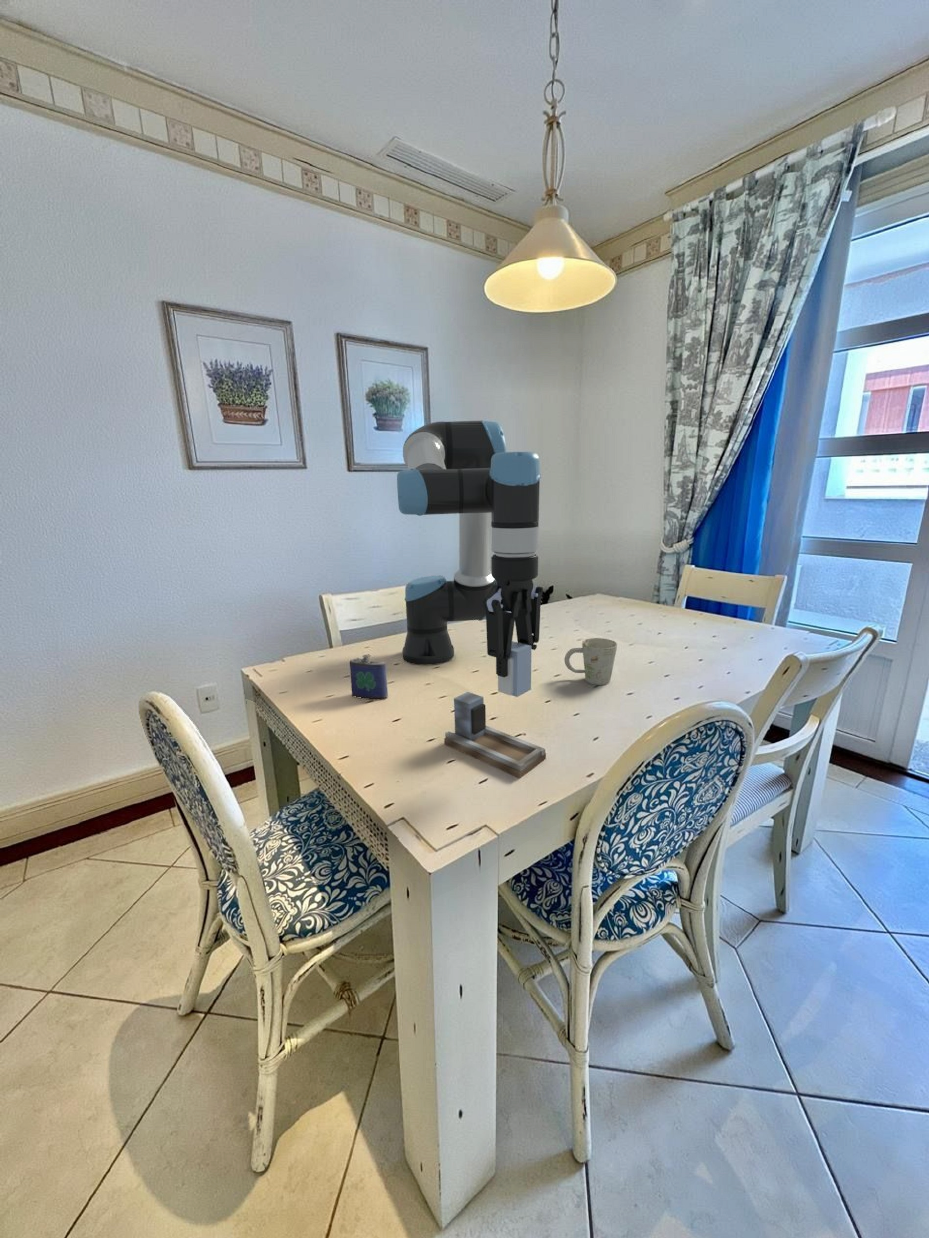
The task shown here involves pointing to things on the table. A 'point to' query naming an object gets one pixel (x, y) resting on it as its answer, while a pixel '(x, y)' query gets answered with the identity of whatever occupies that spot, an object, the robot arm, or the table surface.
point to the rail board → (490, 739)
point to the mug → (595, 659)
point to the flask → (368, 678)
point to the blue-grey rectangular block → (520, 668)
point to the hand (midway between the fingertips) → (514, 688)
